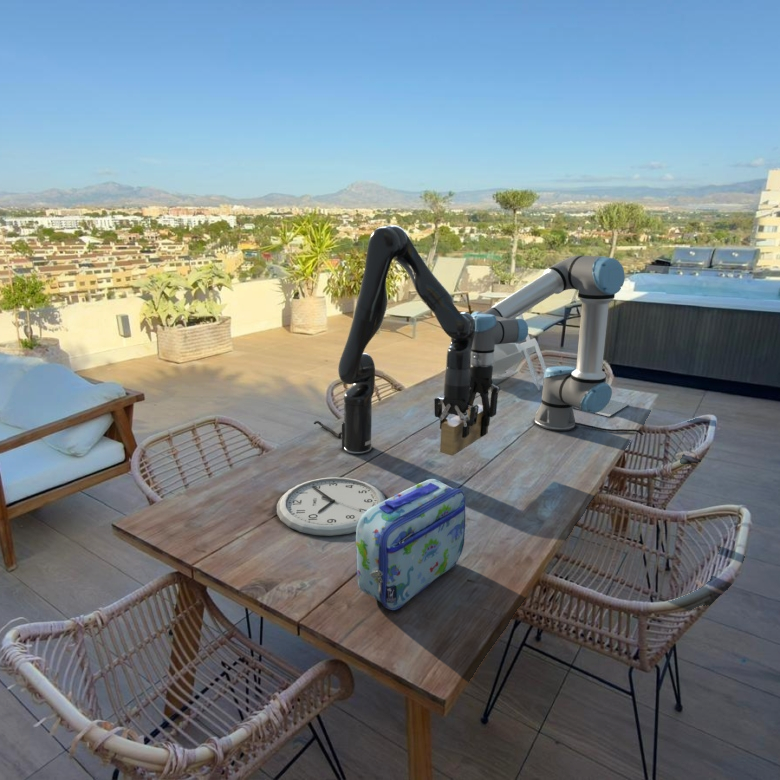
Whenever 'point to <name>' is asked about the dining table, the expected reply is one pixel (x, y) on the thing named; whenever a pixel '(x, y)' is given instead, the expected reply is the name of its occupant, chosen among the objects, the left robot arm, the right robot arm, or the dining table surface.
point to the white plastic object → (517, 356)
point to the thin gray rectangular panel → (611, 408)
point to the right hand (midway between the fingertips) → (476, 433)
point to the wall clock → (327, 505)
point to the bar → (459, 433)
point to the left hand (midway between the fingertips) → (454, 434)
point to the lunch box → (409, 541)
